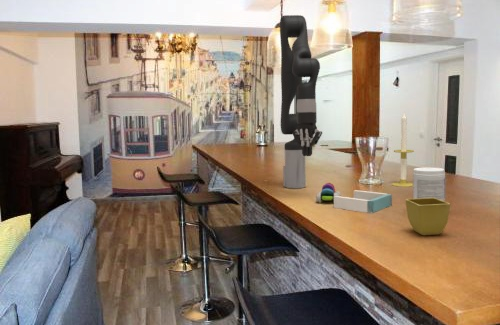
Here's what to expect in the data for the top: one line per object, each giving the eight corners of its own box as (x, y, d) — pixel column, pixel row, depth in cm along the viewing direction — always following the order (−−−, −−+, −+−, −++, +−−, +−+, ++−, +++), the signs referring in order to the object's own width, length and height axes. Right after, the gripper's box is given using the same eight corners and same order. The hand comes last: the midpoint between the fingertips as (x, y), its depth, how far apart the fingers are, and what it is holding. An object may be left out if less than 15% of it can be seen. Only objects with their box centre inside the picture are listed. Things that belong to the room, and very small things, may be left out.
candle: (390, 186, 191) (391, 112, 187) (392, 182, 200) (392, 112, 196) (414, 187, 187) (416, 111, 183) (415, 183, 196) (416, 111, 192)
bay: (333, 207, 153) (333, 196, 152) (355, 200, 164) (355, 190, 163) (371, 213, 143) (371, 201, 142) (391, 205, 154) (391, 194, 153)
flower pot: (404, 229, 123) (404, 198, 122) (433, 227, 124) (434, 197, 123) (418, 238, 114) (419, 205, 113) (450, 236, 115) (451, 203, 114)
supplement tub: (451, 215, 137) (452, 169, 135) (424, 218, 135) (425, 171, 133) (431, 209, 146) (432, 166, 144) (406, 211, 144) (407, 168, 142)
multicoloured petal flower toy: (341, 199, 166) (341, 181, 165) (338, 205, 157) (338, 185, 156) (319, 199, 169) (319, 180, 168) (315, 204, 160) (314, 185, 159)
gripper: (286, 111, 168) (287, 156, 170) (315, 111, 158) (316, 157, 160) (298, 111, 173) (299, 154, 175) (326, 110, 164) (327, 155, 166)
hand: (307, 155), depth 168 cm, fingers closed
